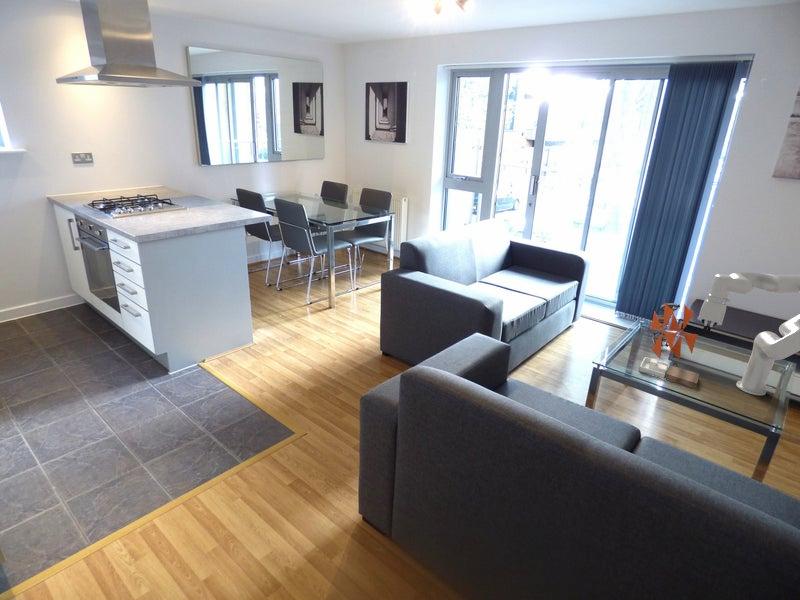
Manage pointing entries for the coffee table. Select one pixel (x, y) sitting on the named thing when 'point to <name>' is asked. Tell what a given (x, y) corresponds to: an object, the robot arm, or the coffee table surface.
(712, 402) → the coffee table surface
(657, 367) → the cream rectangular block
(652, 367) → the tile far
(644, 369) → the tray
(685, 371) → the brown wooden box
